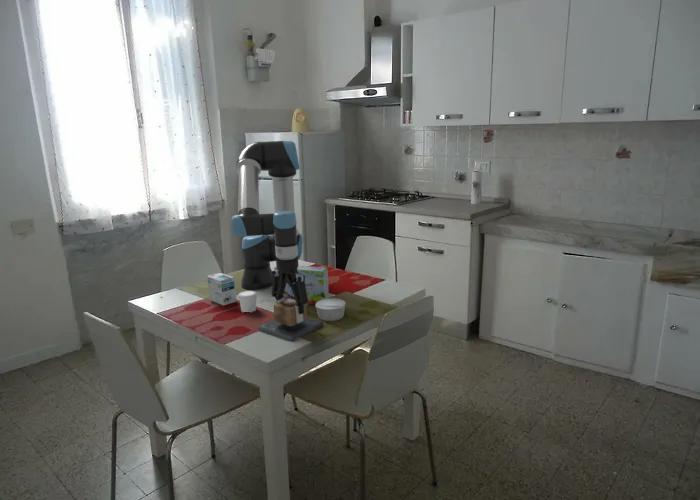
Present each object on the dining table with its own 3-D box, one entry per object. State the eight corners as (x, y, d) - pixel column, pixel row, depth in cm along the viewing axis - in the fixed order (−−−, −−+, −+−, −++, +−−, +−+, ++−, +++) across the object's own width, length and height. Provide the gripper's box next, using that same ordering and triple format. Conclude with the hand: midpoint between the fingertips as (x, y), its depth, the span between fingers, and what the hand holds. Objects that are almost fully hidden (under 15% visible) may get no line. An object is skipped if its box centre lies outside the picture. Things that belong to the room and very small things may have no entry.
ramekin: (322, 324, 171) (321, 310, 170) (311, 314, 181) (311, 301, 180) (350, 319, 175) (350, 305, 174) (339, 309, 185) (338, 296, 184)
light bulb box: (237, 301, 196) (235, 276, 194) (223, 306, 192) (220, 280, 189) (223, 296, 204) (220, 271, 201) (209, 300, 199) (206, 275, 196)
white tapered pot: (242, 314, 182) (240, 297, 181) (237, 309, 188) (236, 292, 186) (259, 311, 185) (258, 294, 184) (254, 305, 191) (253, 289, 189)
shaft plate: (258, 330, 168) (256, 303, 165) (290, 315, 180) (289, 290, 177) (291, 341, 158) (290, 313, 156) (323, 325, 170) (322, 298, 168)
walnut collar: (274, 321, 168) (273, 305, 166) (290, 313, 174) (289, 298, 172) (291, 326, 163) (290, 309, 161) (306, 318, 169) (306, 302, 167)
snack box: (275, 302, 194) (273, 267, 190) (282, 298, 199) (279, 263, 196) (324, 307, 188) (323, 270, 184) (329, 302, 193) (328, 266, 189)
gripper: (257, 255, 166) (262, 316, 172) (301, 264, 154) (305, 329, 159) (273, 250, 172) (277, 309, 177) (317, 258, 159) (320, 322, 165)
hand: (290, 319), depth 168 cm, fingers closed on walnut collar, 8 cm apart
